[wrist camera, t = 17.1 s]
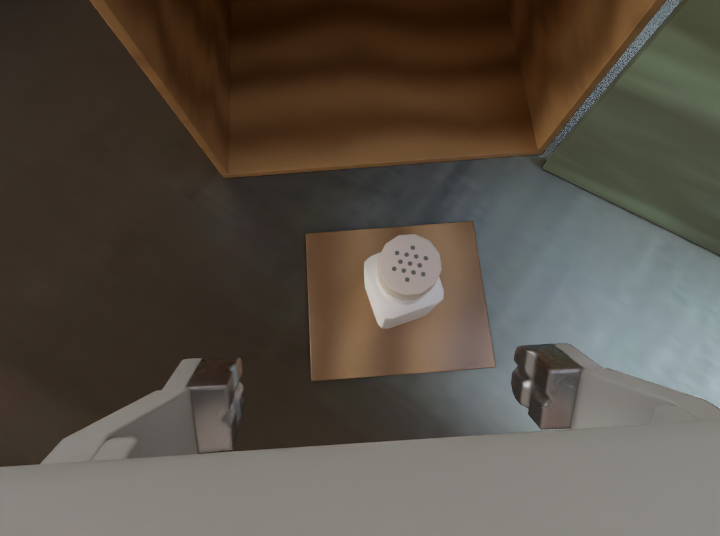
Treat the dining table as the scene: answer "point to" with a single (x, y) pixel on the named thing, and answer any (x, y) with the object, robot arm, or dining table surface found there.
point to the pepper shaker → (403, 280)
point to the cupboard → (373, 75)
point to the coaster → (411, 339)
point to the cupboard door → (658, 130)
